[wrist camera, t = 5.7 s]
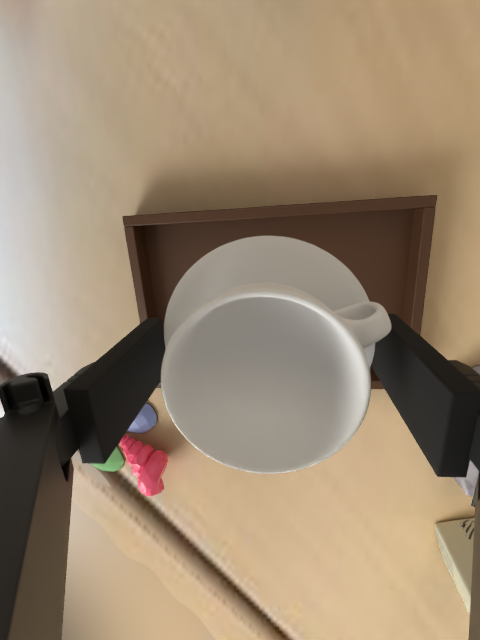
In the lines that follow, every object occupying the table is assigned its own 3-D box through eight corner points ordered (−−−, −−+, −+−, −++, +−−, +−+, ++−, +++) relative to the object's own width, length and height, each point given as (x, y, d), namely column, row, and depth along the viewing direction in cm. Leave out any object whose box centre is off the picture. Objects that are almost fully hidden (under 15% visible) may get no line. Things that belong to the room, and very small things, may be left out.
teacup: (230, 450, 18) (215, 527, 14) (128, 299, 16) (71, 334, 11) (406, 381, 16) (457, 448, 11) (316, 189, 13) (337, 180, 9)
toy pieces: (183, 405, 34) (169, 432, 29) (169, 485, 37) (155, 519, 33) (73, 378, 34) (45, 401, 30) (70, 459, 38) (45, 490, 34)
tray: (134, 215, 28) (122, 216, 26) (423, 196, 25) (437, 194, 23) (159, 376, 33) (150, 388, 31) (404, 376, 30) (413, 389, 28)
